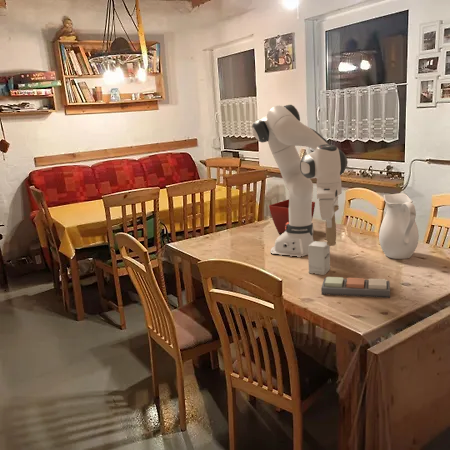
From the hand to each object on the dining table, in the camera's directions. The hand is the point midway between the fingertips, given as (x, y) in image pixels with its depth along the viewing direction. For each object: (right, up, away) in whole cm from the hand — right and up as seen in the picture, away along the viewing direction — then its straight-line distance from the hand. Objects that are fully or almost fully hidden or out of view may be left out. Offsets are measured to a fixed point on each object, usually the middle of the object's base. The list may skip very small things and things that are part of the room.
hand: (330, 225), depth 173 cm
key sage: (+3, -23, +7) cm, 25 cm away
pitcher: (+40, -15, +36) cm, 56 cm away
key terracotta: (+11, -23, +4) cm, 26 cm away
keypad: (+11, -25, +5) cm, 28 cm away
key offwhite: (+18, -23, +2) cm, 30 cm away
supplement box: (+2, -20, +28) cm, 34 cm away
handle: (+1, -8, +2) cm, 8 cm away
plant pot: (-1, -4, +90) cm, 91 cm away
